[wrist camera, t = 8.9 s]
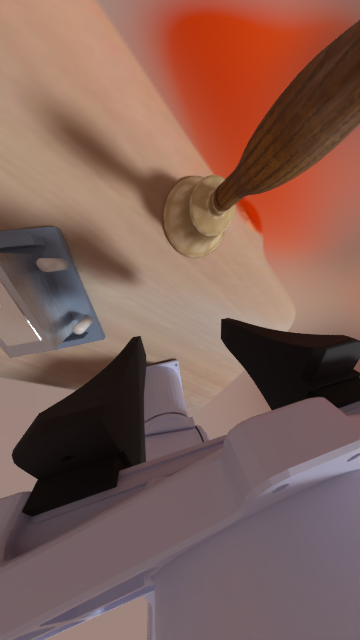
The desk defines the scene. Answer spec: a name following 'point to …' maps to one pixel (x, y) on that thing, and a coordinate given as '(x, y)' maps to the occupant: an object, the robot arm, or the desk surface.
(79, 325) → the grey peg stand
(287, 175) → the hand bell
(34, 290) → the block
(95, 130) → the desk surface
